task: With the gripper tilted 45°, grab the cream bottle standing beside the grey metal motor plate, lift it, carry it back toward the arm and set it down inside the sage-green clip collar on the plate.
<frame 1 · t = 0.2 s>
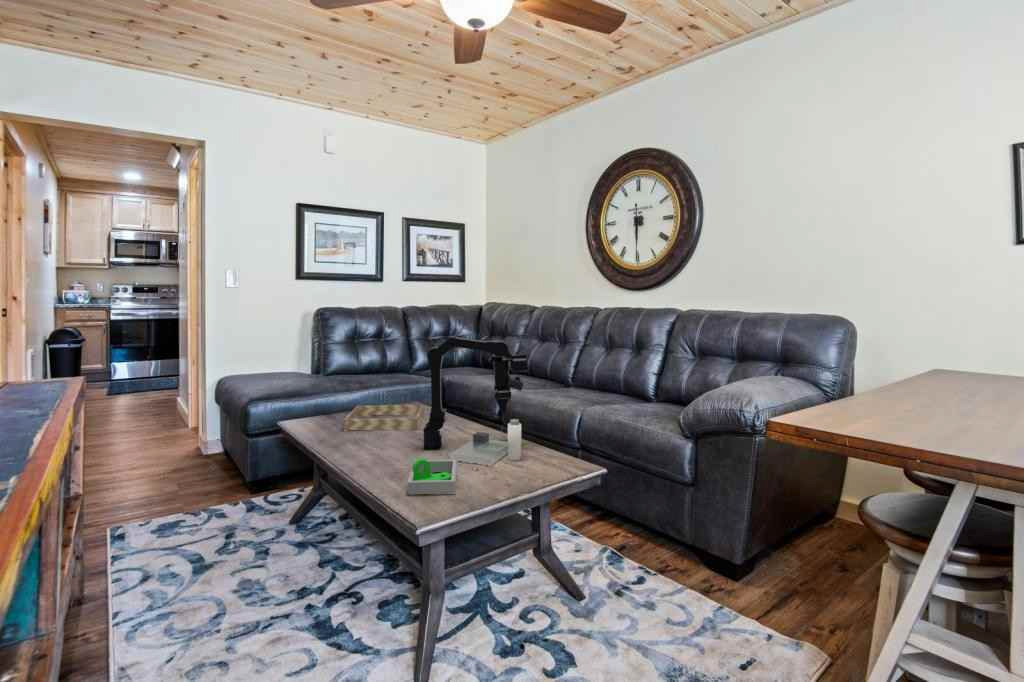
hand: (503, 411, 209), 14 cm above the table, tool pointing down, fingers open, 9 cm apart
woven basket tray: (386, 422, 248), on the table
motor plate: (483, 454, 201), on the table
mechanical part: (433, 484, 172), resting in parts tray
cream bottle: (514, 458, 196), on the table
parts tray: (433, 482, 172), on the table
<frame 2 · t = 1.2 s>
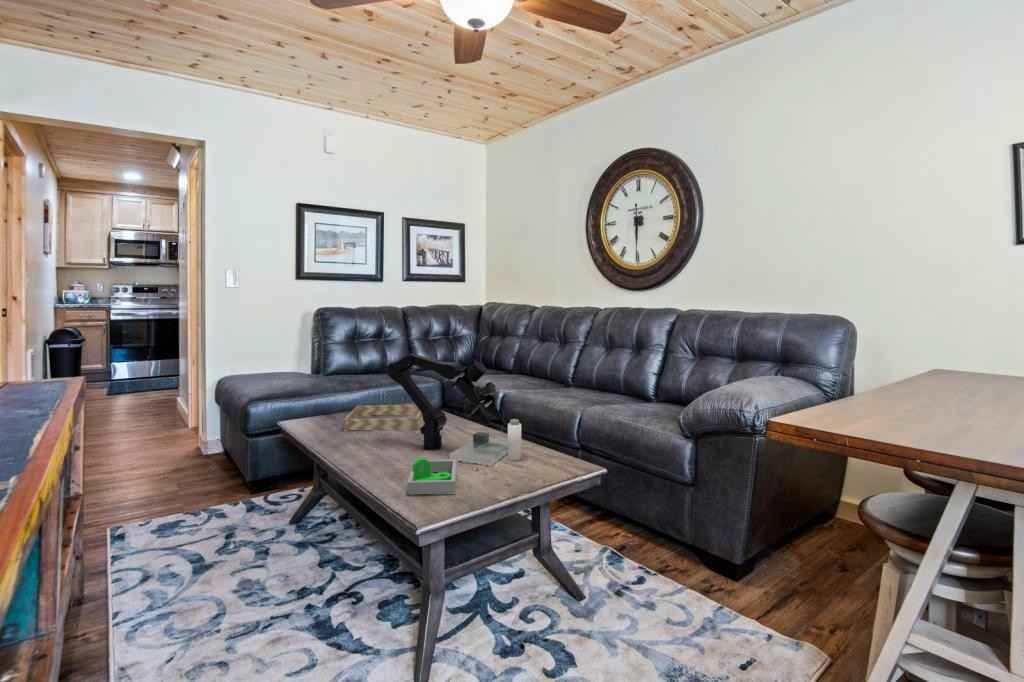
hand: (495, 421, 198), 13 cm above the table, tool tilted 45°, fingers open, 9 cm apart
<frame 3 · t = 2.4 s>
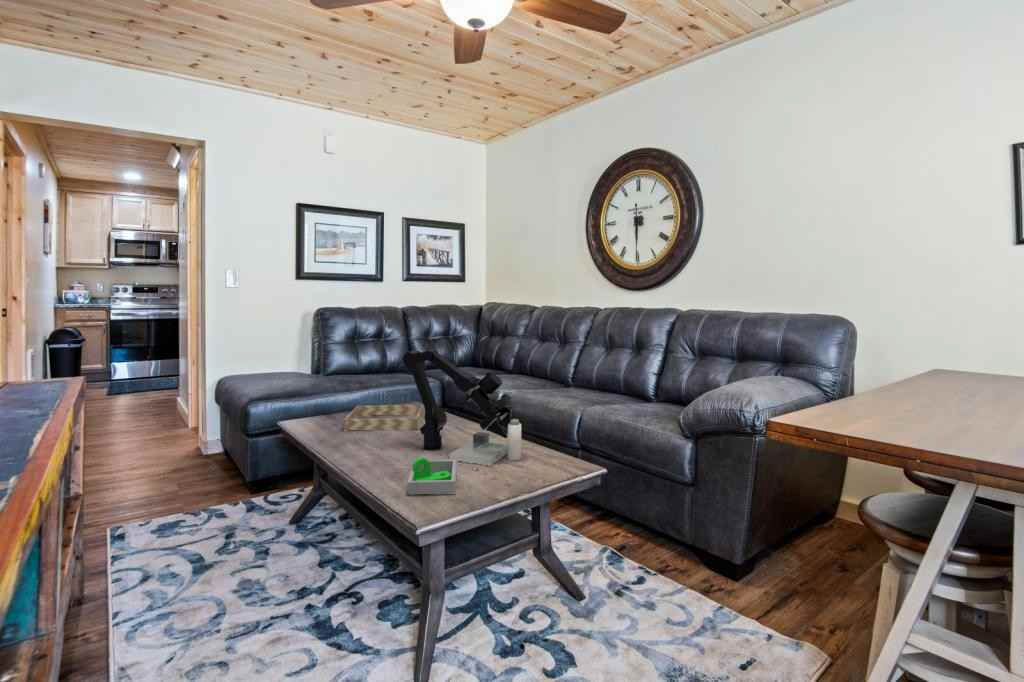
hand: (511, 434, 196), 9 cm above the table, tool tilted 45°, fingers open, 9 cm apart
mechanical part: (433, 482, 173), resting in parts tray
everything else where it was.
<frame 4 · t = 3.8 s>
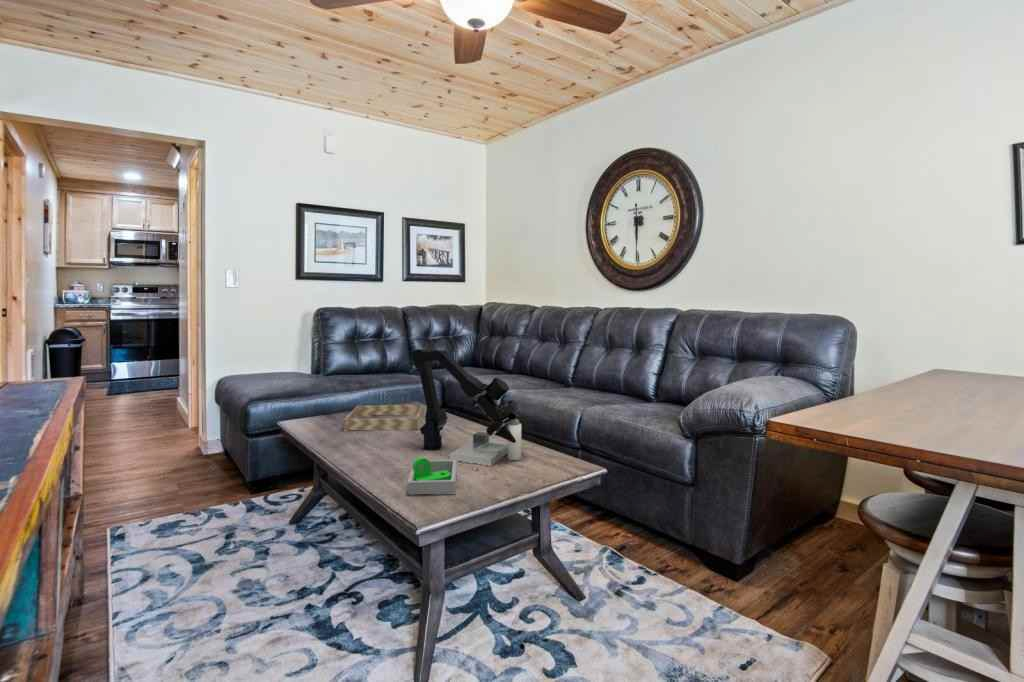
hand: (517, 440, 195), 7 cm above the table, tool tilted 45°, fingers closed on cream bottle, 5 cm apart
mechanical part: (433, 482, 174), resting in parts tray
cream bottle: (514, 458, 196), on the table, touching gripper
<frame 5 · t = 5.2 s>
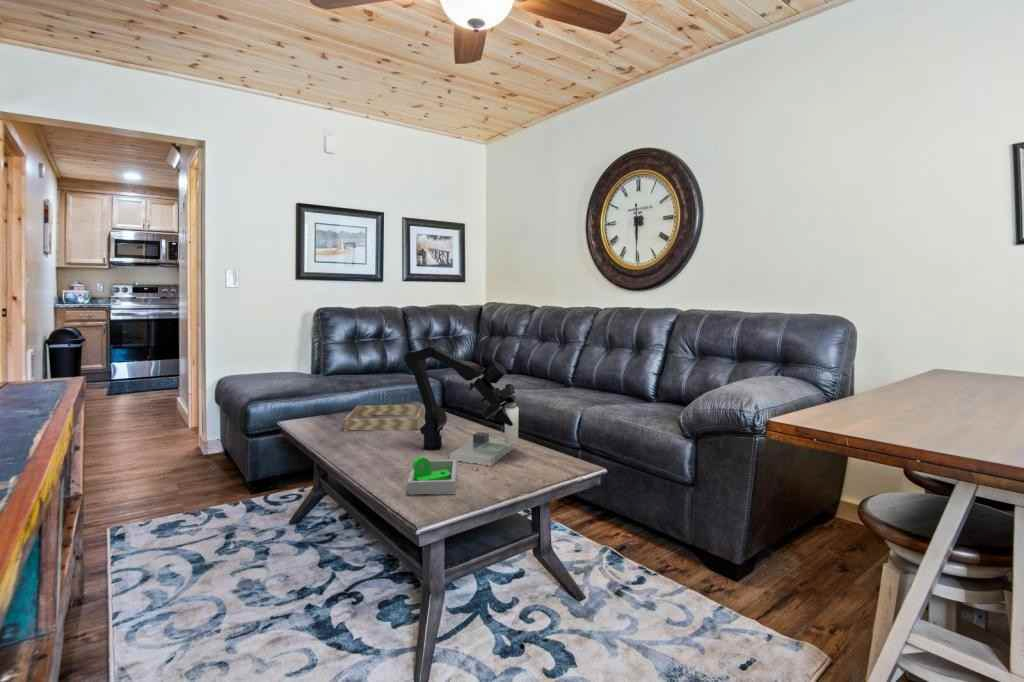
hand: (514, 423, 195), 13 cm above the table, tool tilted 45°, fingers closed on cream bottle, 5 cm apart
cream bottle: (511, 442, 196), point 6 cm above the table, touching gripper
when the fingers open (11 cm above the table, at t = 6.8 s): cream bottle drops 1 cm, resting on motor plate.
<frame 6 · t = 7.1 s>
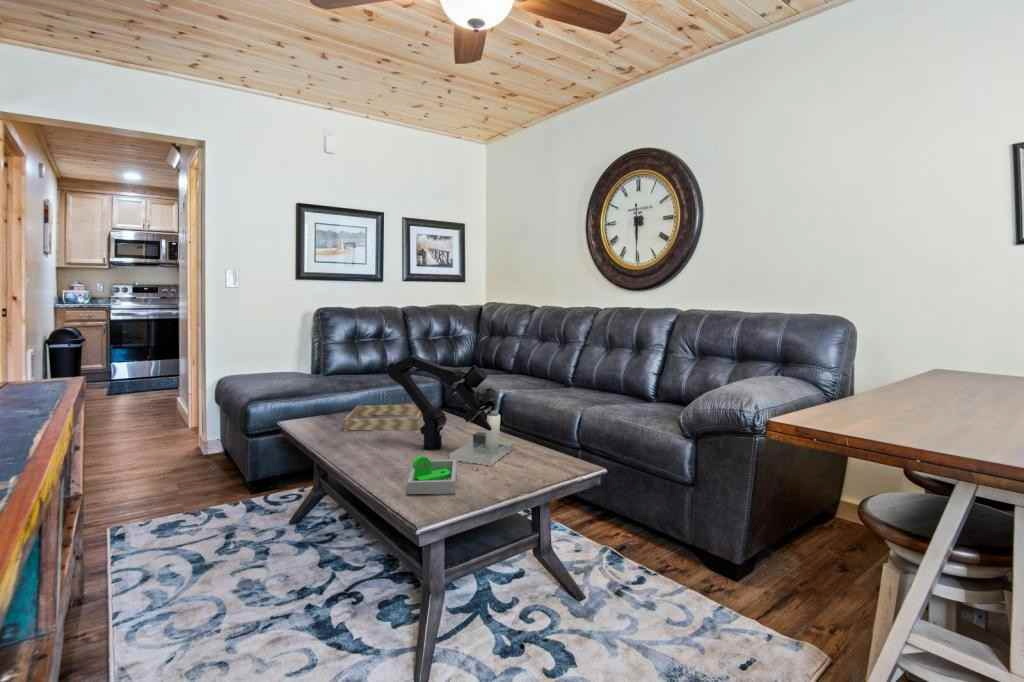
hand: (495, 427, 198), 11 cm above the table, tool tilted 45°, fingers open, 8 cm apart
mechanical part: (433, 480, 175), resting in parts tray
cream bottle: (491, 448, 199), point 3 cm above the table, touching motor plate
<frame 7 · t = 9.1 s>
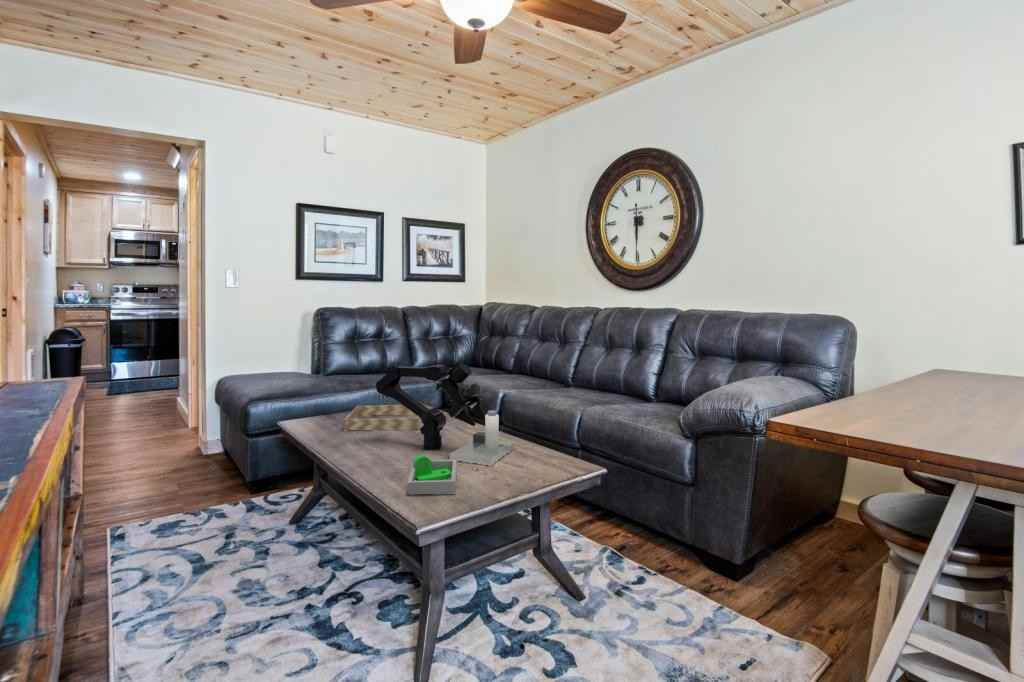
hand: (480, 422, 200), 12 cm above the table, tool tilted 45°, fingers open, 9 cm apart
mechanical part: (433, 480, 176), resting in parts tray
everything else where it was.
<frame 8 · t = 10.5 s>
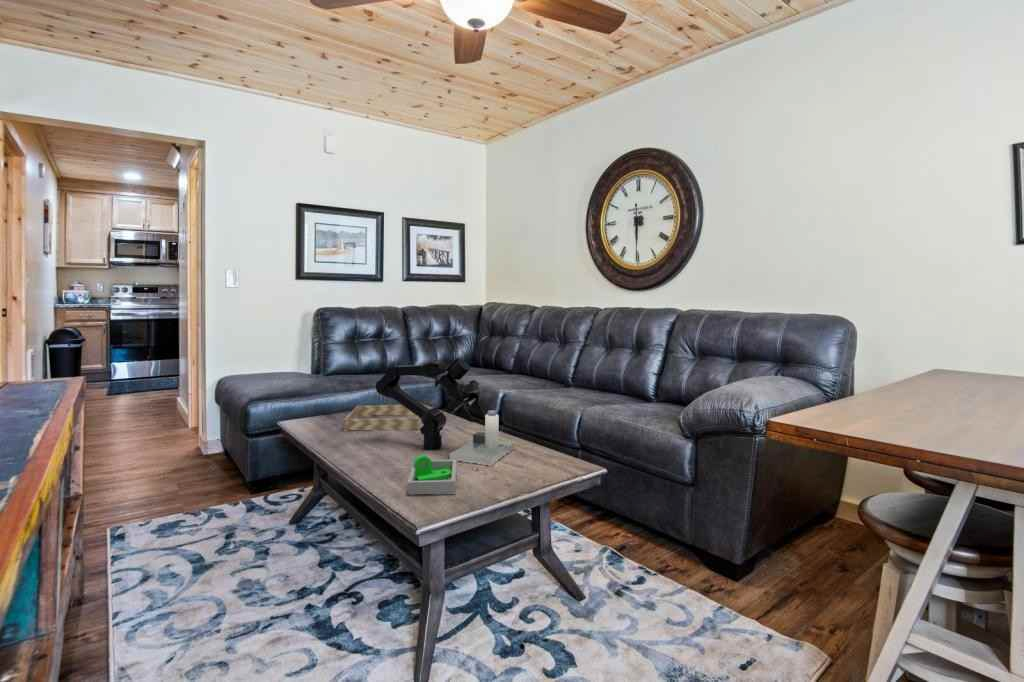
hand: (478, 418, 200), 14 cm above the table, tool tilted 45°, fingers open, 9 cm apart
mechanical part: (434, 480, 176), resting in parts tray
everything else where it was.
at the end: cream bottle 0.0 cm from the target spot on the motor plate, point 2.5 cm above the motor plate's base; cream bottle tilted 0°; the gripper is holding nothing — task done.
